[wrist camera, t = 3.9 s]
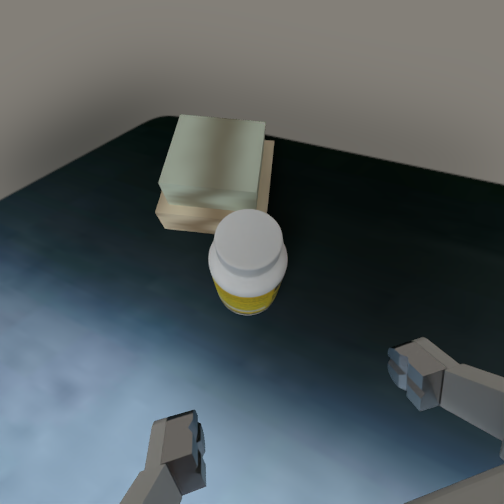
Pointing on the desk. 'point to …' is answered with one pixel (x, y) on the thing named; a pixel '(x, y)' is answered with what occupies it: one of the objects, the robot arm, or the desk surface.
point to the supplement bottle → (247, 261)
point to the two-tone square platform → (214, 172)
